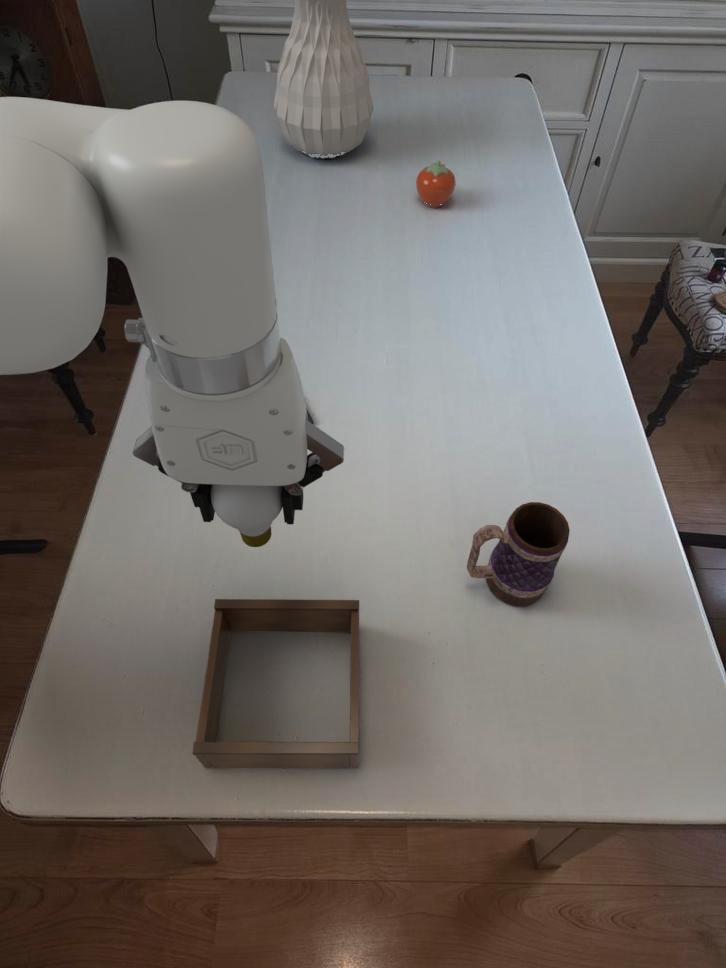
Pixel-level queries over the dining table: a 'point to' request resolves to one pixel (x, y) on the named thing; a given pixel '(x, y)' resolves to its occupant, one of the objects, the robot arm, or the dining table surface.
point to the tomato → (435, 184)
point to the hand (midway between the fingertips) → (251, 507)
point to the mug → (521, 553)
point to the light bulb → (248, 509)
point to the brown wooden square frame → (226, 619)
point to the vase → (322, 81)
